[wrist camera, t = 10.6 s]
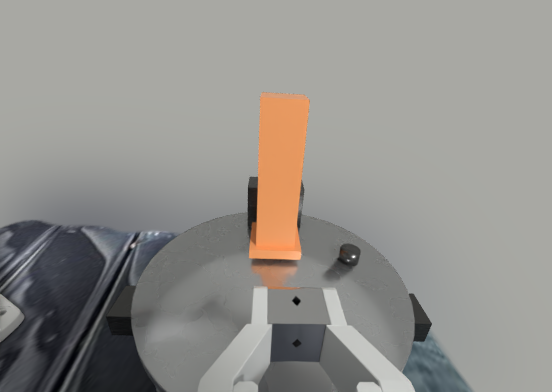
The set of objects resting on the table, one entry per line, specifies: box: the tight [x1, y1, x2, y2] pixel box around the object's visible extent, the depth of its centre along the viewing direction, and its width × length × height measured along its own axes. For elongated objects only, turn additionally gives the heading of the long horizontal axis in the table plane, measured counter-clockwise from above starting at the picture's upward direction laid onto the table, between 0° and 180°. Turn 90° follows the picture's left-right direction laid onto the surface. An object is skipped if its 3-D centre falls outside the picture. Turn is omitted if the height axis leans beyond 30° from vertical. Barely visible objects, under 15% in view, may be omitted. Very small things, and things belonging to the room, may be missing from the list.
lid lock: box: [249, 92, 310, 260], centre depth 21 cm, size 4×4×12 cm
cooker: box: [106, 177, 432, 392], centre depth 22 cm, size 19×24×17 cm
